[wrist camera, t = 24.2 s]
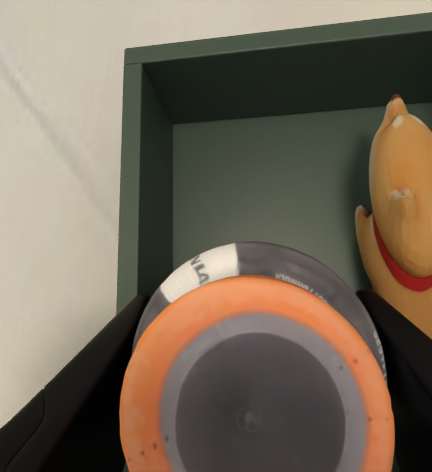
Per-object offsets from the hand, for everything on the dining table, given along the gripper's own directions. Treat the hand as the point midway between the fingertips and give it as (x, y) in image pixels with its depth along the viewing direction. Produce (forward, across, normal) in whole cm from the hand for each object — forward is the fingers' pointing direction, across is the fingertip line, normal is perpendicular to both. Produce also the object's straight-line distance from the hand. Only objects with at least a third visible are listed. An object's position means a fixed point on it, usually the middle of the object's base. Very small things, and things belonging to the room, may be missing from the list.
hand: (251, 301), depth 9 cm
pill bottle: (+4, 0, +6) cm, 7 cm away
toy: (+5, -6, +5) cm, 9 cm away
